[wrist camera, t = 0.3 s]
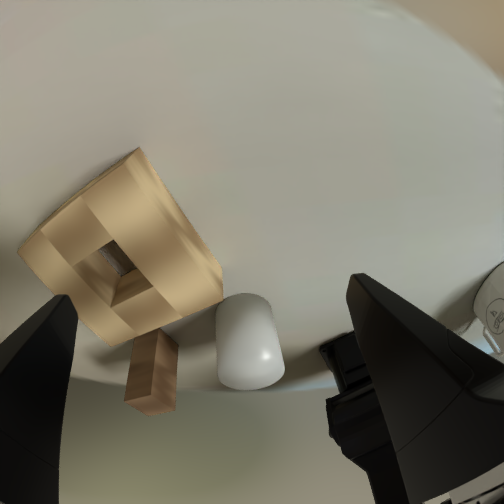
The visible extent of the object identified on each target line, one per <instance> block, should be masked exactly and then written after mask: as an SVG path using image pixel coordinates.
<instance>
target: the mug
mask: <svg viewBox="0 0 504 504" xmlns="http://www.w3.org/2000/svg"><path fill="white" fill-rule="evenodd" d="M474 312H475V314H476V315H477V317H478V318H479V320H480V321H481V322H482V324H483V325H484V329H483V336H484V337H485V339H486V340H487V342H488V343H489V345H490V346H491V348H492V349H493V351H494V352H495V354H496V355H497V356H498V357H502V356H504V263H502V264H501V265H499V266H498V267H497V268H496V269H495V270H494V271H493V272H492V273H491V274H490V275H489V276H488V277H487V279H486V280H485V281H484V283H483V284H482V286H481V287H480V289H479V291H478V293H477V295H476V298H475V301H474ZM487 330H488V332H489V333H490V334H491V336H492V337H493V339H494V340H495V342H496V343H497V345H498V347H499V348H500V350H501V351H502V352H501V353H500V352H499V350H498V349H497V347H496V346H495V344H494V343H493V341H492V340H491V338H490V337H489V336H488V334H487Z"/></svg>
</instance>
